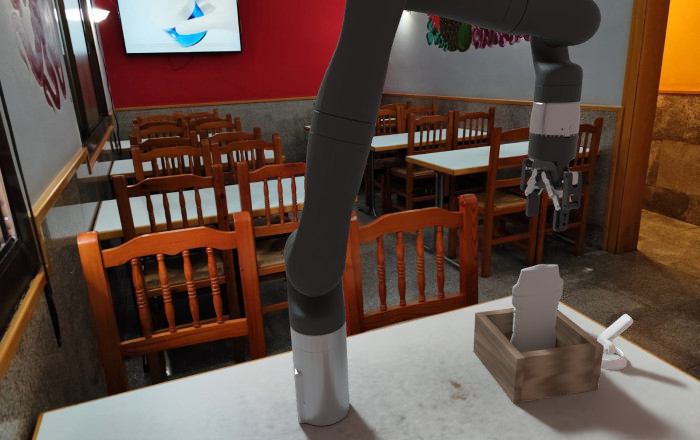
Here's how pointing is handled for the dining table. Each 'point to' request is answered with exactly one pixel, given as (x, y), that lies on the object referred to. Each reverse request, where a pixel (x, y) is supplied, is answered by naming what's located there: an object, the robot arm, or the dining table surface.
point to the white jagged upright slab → (536, 307)
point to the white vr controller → (609, 346)
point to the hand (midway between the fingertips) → (545, 223)
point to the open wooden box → (537, 358)
